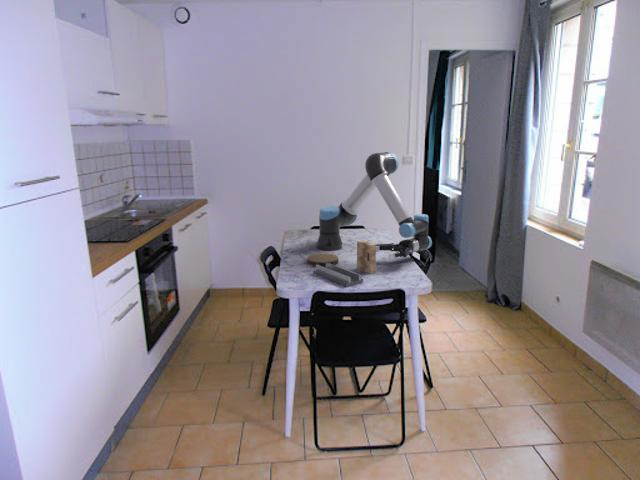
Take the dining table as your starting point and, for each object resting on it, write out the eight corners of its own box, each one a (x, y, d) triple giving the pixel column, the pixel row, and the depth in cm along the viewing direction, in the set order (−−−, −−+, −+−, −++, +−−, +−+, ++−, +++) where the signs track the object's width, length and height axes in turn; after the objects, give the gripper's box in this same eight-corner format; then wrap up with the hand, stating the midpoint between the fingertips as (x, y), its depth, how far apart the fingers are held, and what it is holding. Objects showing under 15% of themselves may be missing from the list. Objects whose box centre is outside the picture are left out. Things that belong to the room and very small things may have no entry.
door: (356, 269, 221) (356, 241, 218) (361, 267, 223) (361, 240, 220) (370, 273, 214) (370, 245, 210) (375, 272, 216) (376, 244, 212)
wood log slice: (337, 258, 240) (337, 253, 240) (339, 267, 225) (339, 261, 224) (307, 258, 240) (307, 253, 239) (307, 267, 225) (307, 262, 224)
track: (313, 273, 214) (313, 265, 213) (329, 269, 220) (329, 261, 219) (346, 287, 196) (346, 278, 195) (363, 282, 202) (363, 274, 201)
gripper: (426, 258, 226) (397, 266, 213) (390, 248, 245) (362, 255, 232) (427, 244, 224) (398, 251, 211) (391, 235, 243) (362, 241, 231)
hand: (379, 253), depth 222 cm, fingers open, 13 cm apart
